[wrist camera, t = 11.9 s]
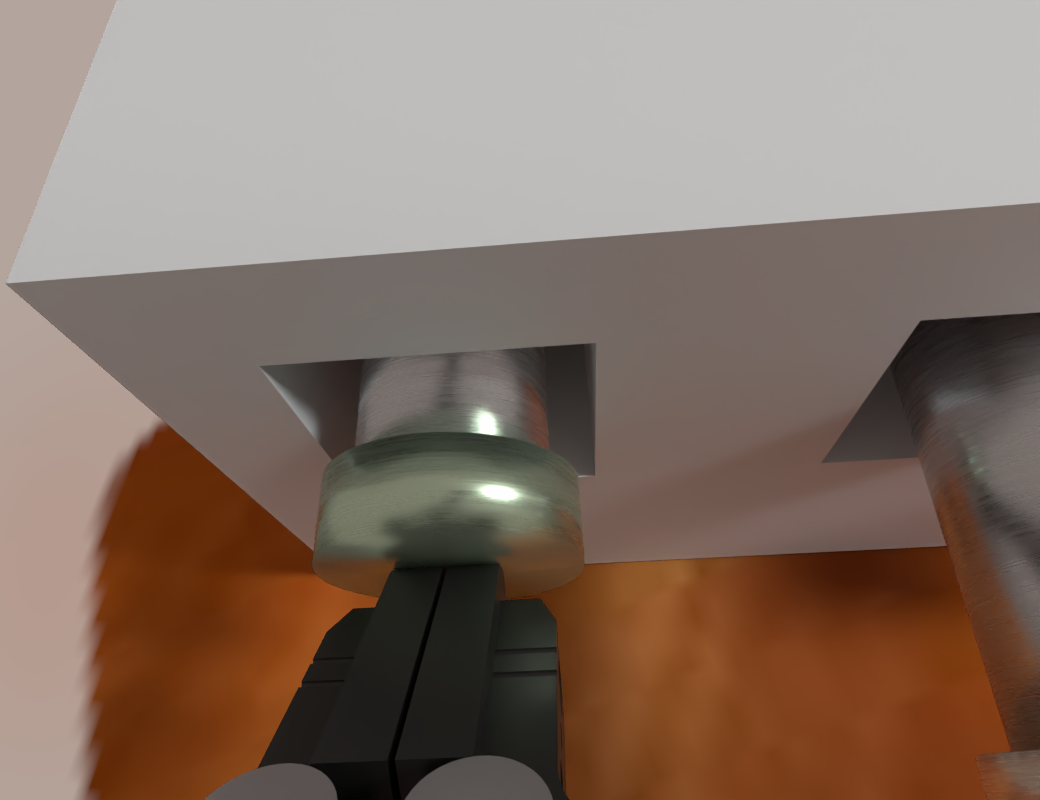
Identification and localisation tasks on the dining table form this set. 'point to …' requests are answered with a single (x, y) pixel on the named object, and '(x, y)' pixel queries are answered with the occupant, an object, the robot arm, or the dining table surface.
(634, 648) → the dining table surface
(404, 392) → the sage button
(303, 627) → the dining table surface
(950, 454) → the ivory button
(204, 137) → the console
